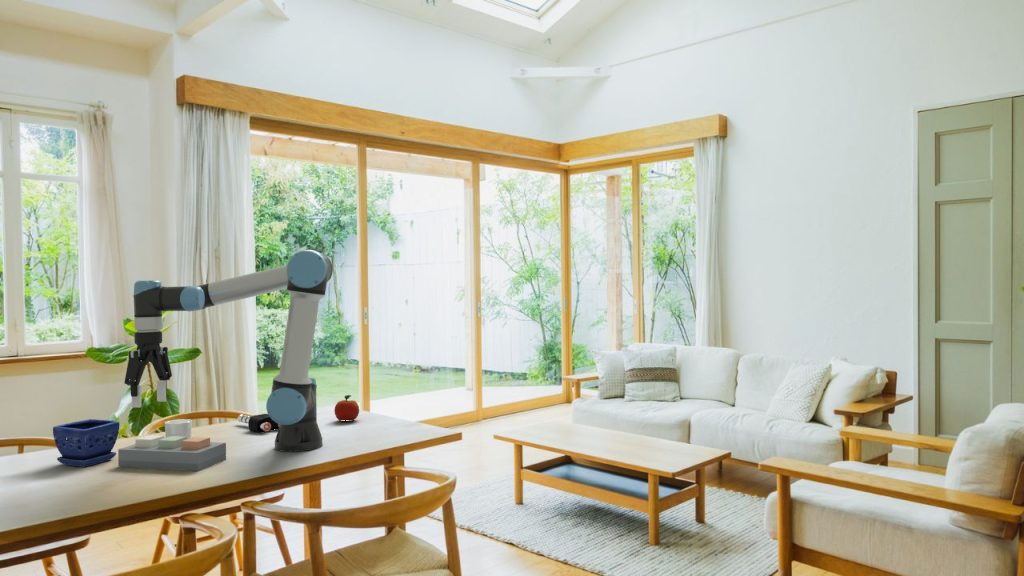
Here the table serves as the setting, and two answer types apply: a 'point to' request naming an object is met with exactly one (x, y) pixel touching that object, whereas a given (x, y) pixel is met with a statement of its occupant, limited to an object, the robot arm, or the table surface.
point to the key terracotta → (196, 443)
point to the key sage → (171, 442)
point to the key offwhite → (148, 441)
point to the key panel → (172, 465)
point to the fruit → (346, 409)
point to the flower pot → (86, 441)
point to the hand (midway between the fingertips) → (149, 404)
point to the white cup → (178, 428)
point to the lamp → (259, 422)
